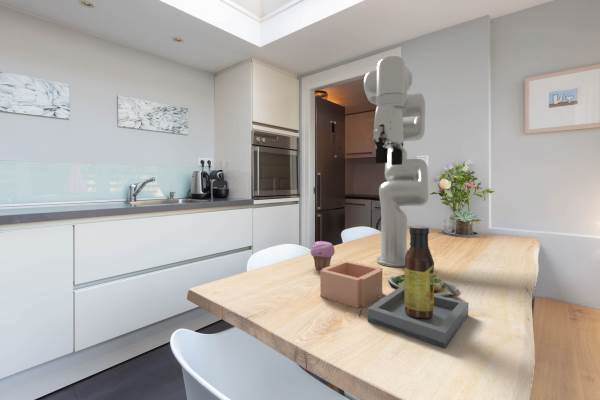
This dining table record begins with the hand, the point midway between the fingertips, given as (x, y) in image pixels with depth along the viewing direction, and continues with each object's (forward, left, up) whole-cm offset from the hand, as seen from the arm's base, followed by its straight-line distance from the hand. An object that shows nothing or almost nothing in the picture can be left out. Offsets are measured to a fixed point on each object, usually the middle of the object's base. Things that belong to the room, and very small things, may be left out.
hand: (389, 163), depth 83 cm
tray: (+14, +14, -36) cm, 41 cm away
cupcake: (-2, -26, -36) cm, 45 cm away
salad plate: (-7, +7, -37) cm, 38 cm away
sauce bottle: (+14, +14, -36) cm, 41 cm away
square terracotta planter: (+12, -5, -36) cm, 39 cm away
